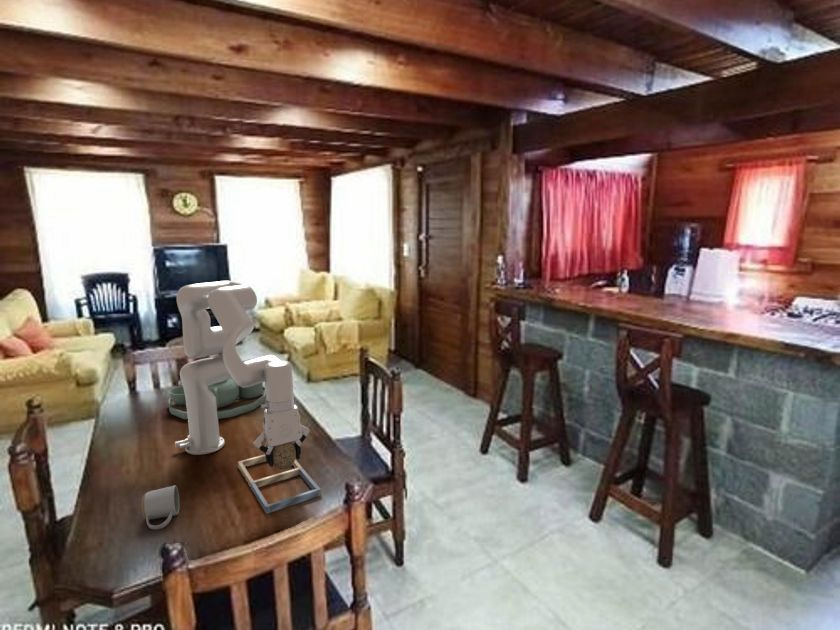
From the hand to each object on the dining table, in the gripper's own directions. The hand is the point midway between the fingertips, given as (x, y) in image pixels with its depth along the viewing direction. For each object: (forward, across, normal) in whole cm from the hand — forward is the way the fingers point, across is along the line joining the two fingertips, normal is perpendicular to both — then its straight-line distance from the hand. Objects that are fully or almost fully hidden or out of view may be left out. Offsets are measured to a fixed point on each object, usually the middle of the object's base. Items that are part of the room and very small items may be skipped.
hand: (283, 460), depth 140 cm
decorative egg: (+3, 0, 0) cm, 3 cm away
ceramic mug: (+10, -32, +6) cm, 34 cm away
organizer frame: (+10, 0, +7) cm, 12 cm away
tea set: (+10, -1, +84) cm, 85 cm away
